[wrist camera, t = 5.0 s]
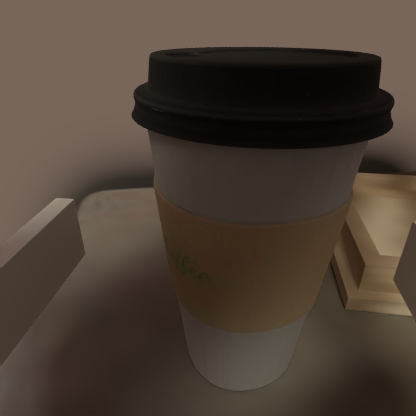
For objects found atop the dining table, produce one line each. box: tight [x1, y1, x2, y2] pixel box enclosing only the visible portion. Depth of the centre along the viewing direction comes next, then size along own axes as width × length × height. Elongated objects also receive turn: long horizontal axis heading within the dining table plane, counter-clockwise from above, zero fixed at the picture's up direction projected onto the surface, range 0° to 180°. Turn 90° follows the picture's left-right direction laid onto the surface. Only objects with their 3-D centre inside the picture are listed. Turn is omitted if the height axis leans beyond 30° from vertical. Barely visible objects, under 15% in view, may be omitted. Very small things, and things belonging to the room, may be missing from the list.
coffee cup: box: [132, 47, 394, 391], centre depth 16 cm, size 9×9×15 cm
